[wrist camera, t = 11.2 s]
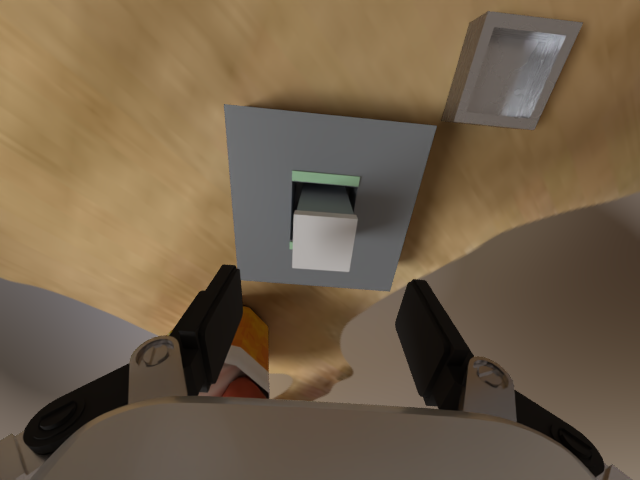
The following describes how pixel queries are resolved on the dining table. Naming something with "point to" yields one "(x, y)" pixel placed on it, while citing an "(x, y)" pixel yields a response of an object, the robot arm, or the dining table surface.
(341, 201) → the plug
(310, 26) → the dining table surface
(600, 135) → the dining table surface
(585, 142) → the dining table surface
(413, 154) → the port block
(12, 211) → the dining table surface
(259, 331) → the bucket of meat
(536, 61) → the box
